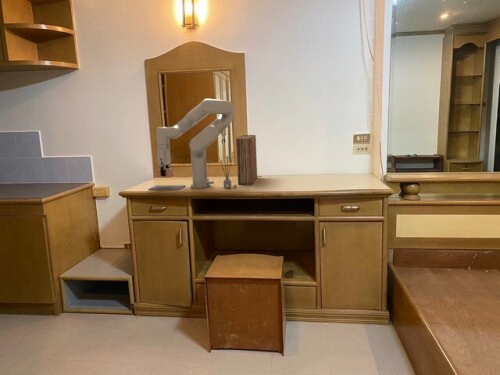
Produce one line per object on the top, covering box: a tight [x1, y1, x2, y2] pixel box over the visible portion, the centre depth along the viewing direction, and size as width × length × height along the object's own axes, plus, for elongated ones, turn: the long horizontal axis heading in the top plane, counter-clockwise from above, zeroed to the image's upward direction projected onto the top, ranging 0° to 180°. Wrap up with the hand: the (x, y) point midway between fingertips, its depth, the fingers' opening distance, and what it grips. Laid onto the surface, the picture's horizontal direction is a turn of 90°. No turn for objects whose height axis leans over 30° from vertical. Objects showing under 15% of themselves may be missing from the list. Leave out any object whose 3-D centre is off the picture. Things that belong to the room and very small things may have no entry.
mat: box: [148, 184, 186, 191], centre depth 248 cm, size 20×12×1 cm, turn 77°
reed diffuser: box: [218, 155, 238, 189], centre depth 240 cm, size 10×7×20 cm
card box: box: [156, 167, 174, 179], centre depth 246 cm, size 6×8×5 cm, turn 83°
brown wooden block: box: [235, 134, 258, 186], centre depth 259 cm, size 25×9×30 cm, turn 171°
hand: (165, 175), depth 247 cm, fingers closed on card box, 5 cm apart
